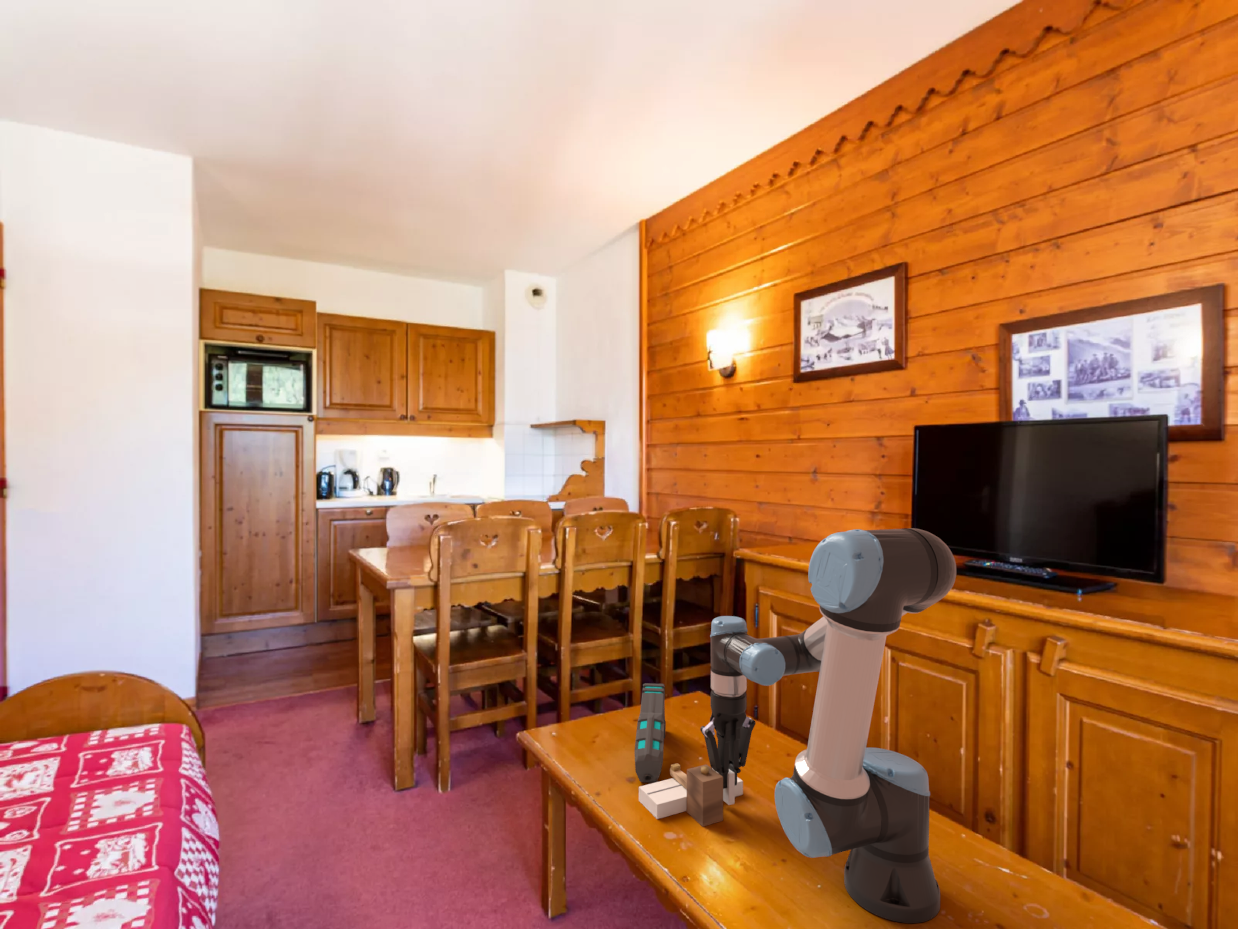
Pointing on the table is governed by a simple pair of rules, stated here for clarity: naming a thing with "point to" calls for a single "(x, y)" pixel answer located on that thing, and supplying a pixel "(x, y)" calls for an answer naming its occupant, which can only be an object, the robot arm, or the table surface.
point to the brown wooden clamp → (702, 792)
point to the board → (669, 797)
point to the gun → (650, 733)
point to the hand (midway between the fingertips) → (727, 801)
